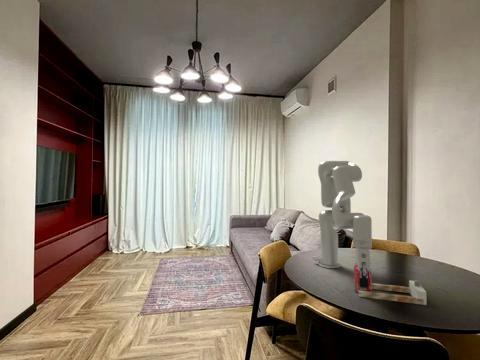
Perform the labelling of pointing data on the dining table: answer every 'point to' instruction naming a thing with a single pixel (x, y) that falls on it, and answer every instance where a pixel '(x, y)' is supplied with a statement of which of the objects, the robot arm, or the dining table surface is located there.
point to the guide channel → (391, 296)
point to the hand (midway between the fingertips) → (362, 283)
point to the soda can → (357, 280)
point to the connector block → (417, 290)
